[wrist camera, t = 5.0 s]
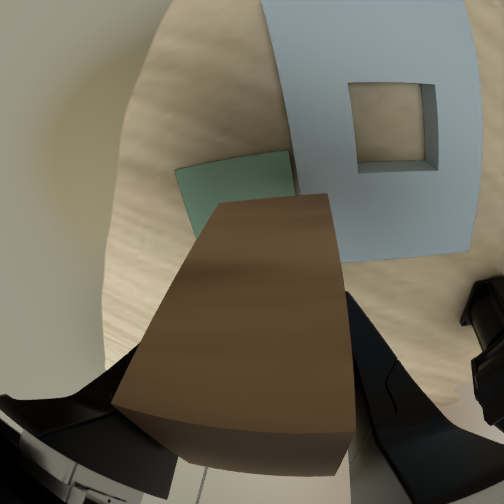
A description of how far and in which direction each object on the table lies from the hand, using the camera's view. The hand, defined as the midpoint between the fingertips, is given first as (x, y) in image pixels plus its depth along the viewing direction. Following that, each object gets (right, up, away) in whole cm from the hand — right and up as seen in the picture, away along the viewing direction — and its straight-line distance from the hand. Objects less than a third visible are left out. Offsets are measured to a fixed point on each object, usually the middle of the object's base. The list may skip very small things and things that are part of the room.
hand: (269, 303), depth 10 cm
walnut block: (+1, +2, +3) cm, 4 cm away
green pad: (-1, +5, +13) cm, 14 cm away
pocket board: (+9, +11, +7) cm, 16 cm away
